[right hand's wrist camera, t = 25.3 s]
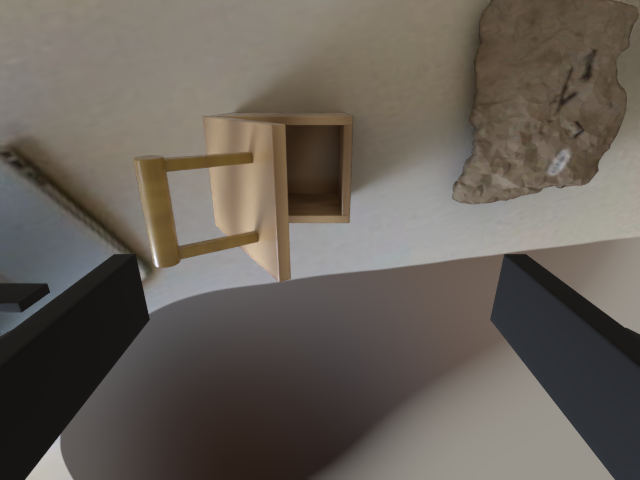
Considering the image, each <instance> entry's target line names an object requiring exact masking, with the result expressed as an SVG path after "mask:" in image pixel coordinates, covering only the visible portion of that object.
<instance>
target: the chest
mask: <svg viewBox="0 0 640 480" xmlns="http://www.w3.org/2000/svg"><path fill="white" fill-rule="evenodd" d="M214 116H216V117H225V118H234V119H243V120H252V121H261V122H270V123H279V124H285V133H286V161H287V189H288V218H289V223H350V194H351V163H352V133H353V116H351V115H349V114H347V113H228V114H221V115H214Z"/></svg>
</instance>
